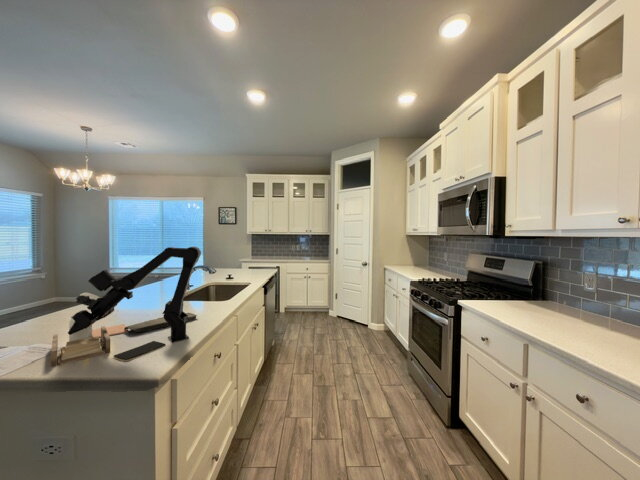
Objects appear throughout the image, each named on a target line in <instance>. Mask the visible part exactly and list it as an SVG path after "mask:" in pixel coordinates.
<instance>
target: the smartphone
mask: <svg viewBox="0 0 640 480" xmlns="http://www.w3.org/2000/svg"><path fill="white" fill-rule="evenodd" d="M163 347H166V343H164V342H160V341H156V340H152V341H150V342H148V343H145V344H142V345H139V346H136V347H134V348H131V349H128V350H126V351H123V352H120V353H117V354H114V355H112V356H113V358H114V359H116V360H119V361H122V362H129V361H132V360H134V359H137V358H139V357H142V356H144V355H147V354H150V353H152V352H154V351H156V350H159V349H162V348H163Z"/></svg>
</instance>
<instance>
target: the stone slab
mask: <svg viewBox="0 0 640 480" xmlns="http://www.w3.org/2000/svg"><path fill="white" fill-rule="evenodd" d="M185 313H186V314H187V315H188V318H187V320H186V321H185V322H186V323H187V322H191V321H193V320H194V321H195V320H196V319H197V316H198V315H197V314H195V313H192V312H185ZM166 327H170V326H169V324H168V322H167V321H165V319H164V316H162V317H158V318H156V319H150V320H146V321H143V322H138V323H135V324H131V325H127V326H126V327H125V328H124V330H126V329H128V330H131V331H134V332H136V333H140V332H146V331H150V330H151V331H152V330H155V329H161V328H166Z"/></svg>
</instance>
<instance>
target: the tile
mask: <svg viewBox="0 0 640 480" xmlns="http://www.w3.org/2000/svg"><path fill="white" fill-rule="evenodd" d="M125 327H127V326H126V325H125V323H124V324H117V325H112V326H105V328H106V330H107V332H108V335H109V337H112V336H116V335H123V334H125V333H126V334H128V333H129V330H130V329H126V330H124V328H125ZM97 336H99V339H101V327H100V328H96V329H92V337H97Z"/></svg>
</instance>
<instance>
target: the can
mask: <svg viewBox="0 0 640 480" xmlns="http://www.w3.org/2000/svg"><path fill="white" fill-rule="evenodd" d="M74 322H75V321H74V320H73V318H72V316H70V320H69V322H68V327H69V328H68V331H69V330H70V329H71V327H72V326H73V324H74ZM92 330H93V324H92V325H91V326H89V327H88V328H85V329H83V330H80V331H78V332H76V333H73V334H71V335H69V334H68V342H69V341H75V340H80V339H86V338H91V337H92Z"/></svg>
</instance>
